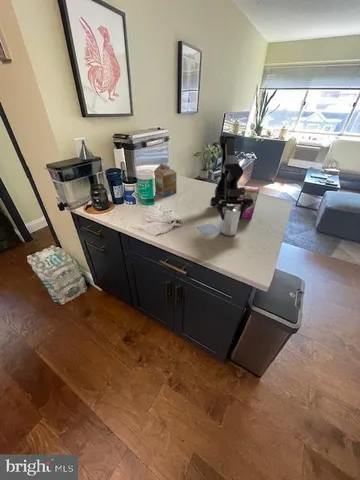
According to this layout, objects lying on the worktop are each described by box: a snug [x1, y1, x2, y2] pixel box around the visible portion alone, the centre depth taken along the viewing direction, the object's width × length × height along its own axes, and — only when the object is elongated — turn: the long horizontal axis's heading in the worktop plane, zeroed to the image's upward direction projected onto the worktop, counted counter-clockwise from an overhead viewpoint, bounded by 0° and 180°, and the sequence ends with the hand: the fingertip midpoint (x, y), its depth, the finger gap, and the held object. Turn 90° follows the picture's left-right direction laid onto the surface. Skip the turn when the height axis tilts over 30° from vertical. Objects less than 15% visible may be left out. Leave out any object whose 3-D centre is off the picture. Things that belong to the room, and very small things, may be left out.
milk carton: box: [153, 162, 178, 197], centre depth 131 cm, size 11×11×19 cm
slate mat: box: [195, 222, 223, 238], centre depth 98 cm, size 10×10×1 cm
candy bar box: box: [232, 184, 260, 220], centre depth 105 cm, size 11×5×16 cm, turn 71°
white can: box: [220, 205, 241, 236], centre depth 91 cm, size 7×7×12 cm
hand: (231, 220), depth 90 cm, fingers closed on white can, 7 cm apart
